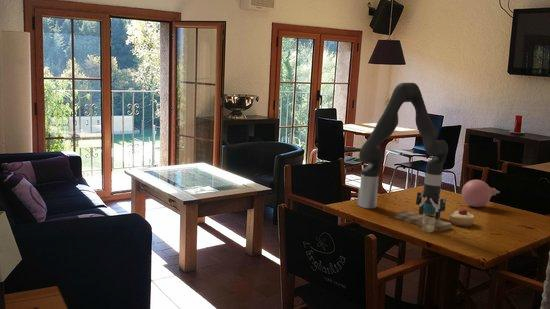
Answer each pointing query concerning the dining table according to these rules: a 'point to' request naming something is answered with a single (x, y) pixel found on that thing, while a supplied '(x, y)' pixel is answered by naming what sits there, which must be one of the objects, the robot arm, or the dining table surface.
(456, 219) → the pastry
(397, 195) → the dining table surface
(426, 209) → the beverage bottle
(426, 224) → the beige cube mallet
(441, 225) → the board
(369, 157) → the robot arm
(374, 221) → the dining table surface
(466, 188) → the balloon
